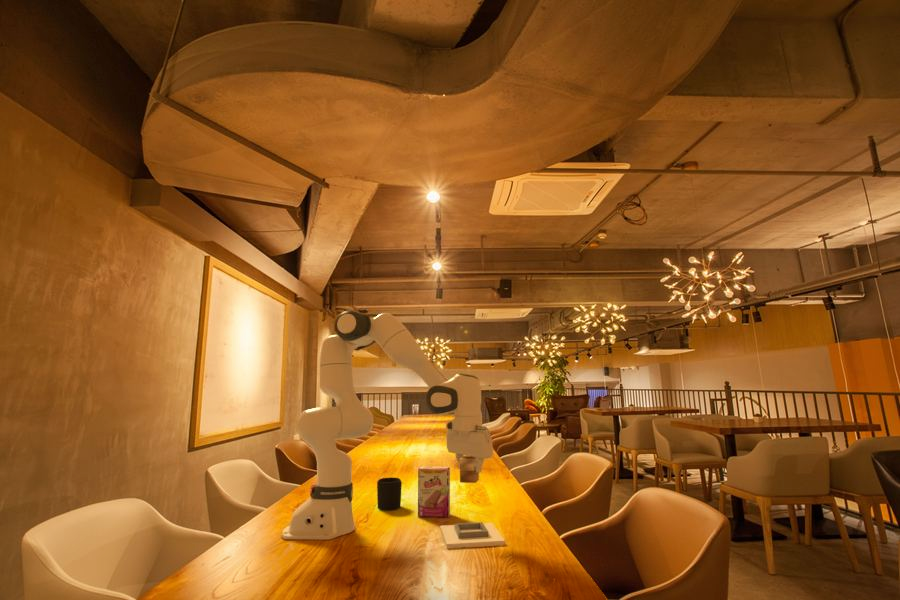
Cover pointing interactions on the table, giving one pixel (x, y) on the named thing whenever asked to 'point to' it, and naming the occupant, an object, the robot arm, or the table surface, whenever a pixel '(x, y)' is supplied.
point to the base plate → (471, 535)
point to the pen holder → (389, 493)
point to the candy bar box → (434, 492)
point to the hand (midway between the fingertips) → (469, 470)
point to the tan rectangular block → (468, 470)
